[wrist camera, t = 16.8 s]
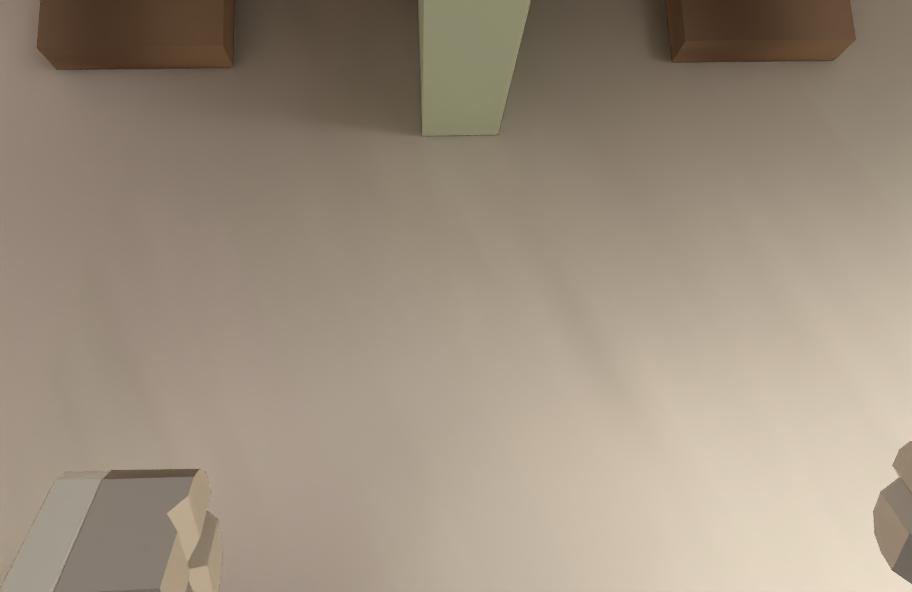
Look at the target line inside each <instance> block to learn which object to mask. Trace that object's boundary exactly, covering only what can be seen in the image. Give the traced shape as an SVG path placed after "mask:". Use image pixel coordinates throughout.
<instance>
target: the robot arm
mask: <svg viewBox="0 0 912 592" xmlns="http://www.w3.org/2000/svg"><path fill="white" fill-rule="evenodd" d="M892 466H893V467H894V469H895V471H896V473H897V475H898V477H899V478H898V479H896V480H895V481H894V482H893V483H891V484H890V485H889V486H887V487H886V488H885V489H883V490H882V491H881V492H880V495H879V497H878V500H877V503H876V506H875V508H874V511H873V516H874V533H875V537H876V539H877V542H878V545H879V548H880V551H881V553H882V555H883V556H884V558H885V560H886V561H887V563H888V565H889V566H890V568H891V570H892V571H894V572H895V573H897V574H898V575H900V576H901V577H902V578H904V579H905V580H907V581H908V582H910V583H911V584H912V441H910V442H908V443H907V444H906V445H904V446H903V447H902V448H901V449H899V451H898V454H897V456H896V458H895V460H894V462H893V465H892ZM211 493H212V491H211V488H210V484H209V481H208V477H207V474H206V471H203V470H201V469H164V470H111V471H84V472H65V473H64V474H62V475H61V476H60V477H59V478H58V479H57V480H56V481H55V482H54V483H53V485H52V487H51V489H50V491H49V492H48V494H47V496H46V498H45V500H44V502H43V504H42V506H41V508H40V510H39V512H38V514H37V516H36V518H35V520H34V522H33V524H32V526H31V528H30V530H29V532H28V534H27V536H26V538H25V540H24V542H23V544H22V546H21V548H20V550H19V552H18V554H17V556H16V558H15V560H14V562H13V564H12V566H11V568H10V570H9V572H8V574H7V576H6V578H5V580H4V582H3V583H2V585H1V587H0V592H218V591H219V586H220V581H221V572H222V559H223V547H222V534H221V530H220V525H219V521H218V519H217V518H216V517H215V516H213V515H212V514H211V513H210V512H208V511H207V508H208V505H209V501H210V497H211Z"/></svg>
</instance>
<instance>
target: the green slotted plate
mask: <svg viewBox="0 0 912 592" xmlns="http://www.w3.org/2000/svg"><path fill="white" fill-rule="evenodd" d="M530 2H531V0H418V15H419V46H420V78H421V109H422V136H449V135H498V133H499V129H500V125H501V121H502V117H503V113H504V108H505V104H506V100H507V96H508V92H509V88H510V84H511V80H512V76H513V72H514V68H515V64H516V60H517V55H518V51H519V47H520V43H521V39H522V35H523V31H524V27H525V23H526V19H527V15H528V11H529V6H530Z"/></svg>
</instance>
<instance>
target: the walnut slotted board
mask: <svg viewBox="0 0 912 592" xmlns="http://www.w3.org/2000/svg"><path fill="white" fill-rule="evenodd" d="M234 5H235V0H41V1H40V14H39V27H38V39H37V48H38V49H39V51H40V52H41V53H42V54H43V55H44V56H45V57H46V58H47V59H48V60H49V61H50V62H51V64H52V65H53V66H54V67H55V68H56V69H130V68H214V67H233V50H234ZM666 7H667V17H668V27H669V36H670V46H671V55H672V62H723V61H808V60H835V59H836V58H837V57H838V56H839V55H840V54H841V53H842V52H843V51H844V50H845V49H846V48H847V47H848V46H849V45H850V44H851V43H852V42H853V41H855V40H856V37H855V31H854V25H853V18H852V12H851V6H850V0H666Z"/></svg>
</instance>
